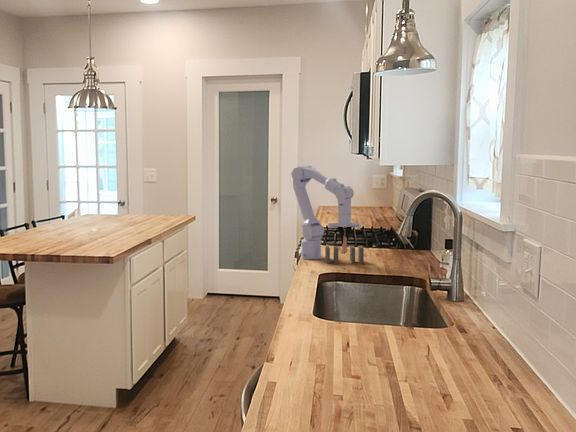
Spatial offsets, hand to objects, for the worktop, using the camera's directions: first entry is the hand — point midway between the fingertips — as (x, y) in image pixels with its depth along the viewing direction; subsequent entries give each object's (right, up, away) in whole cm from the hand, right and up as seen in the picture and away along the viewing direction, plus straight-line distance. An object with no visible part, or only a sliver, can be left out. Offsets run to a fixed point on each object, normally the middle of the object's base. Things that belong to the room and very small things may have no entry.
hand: (344, 243), depth 224 cm
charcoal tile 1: (+8, -8, +1) cm, 11 cm away
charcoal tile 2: (+4, -8, +1) cm, 9 cm away
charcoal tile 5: (-8, -9, +1) cm, 11 cm away
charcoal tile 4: (-4, -9, +1) cm, 9 cm away
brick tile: (0, -4, 0) cm, 4 cm away
